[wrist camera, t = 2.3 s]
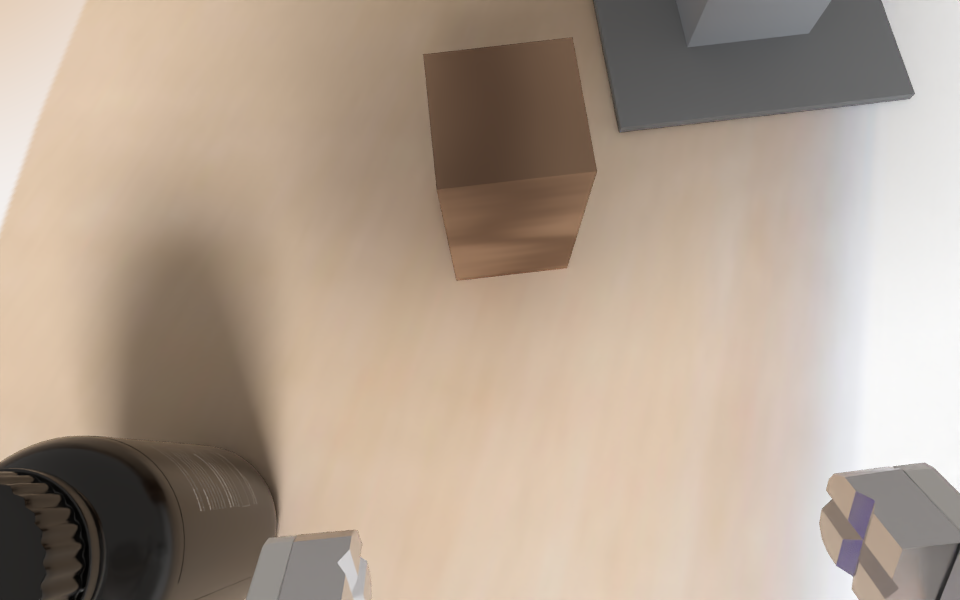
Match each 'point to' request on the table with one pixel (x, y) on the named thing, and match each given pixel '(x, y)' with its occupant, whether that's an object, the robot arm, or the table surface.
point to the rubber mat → (745, 66)
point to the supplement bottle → (130, 521)
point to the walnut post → (510, 155)
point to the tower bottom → (746, 19)
